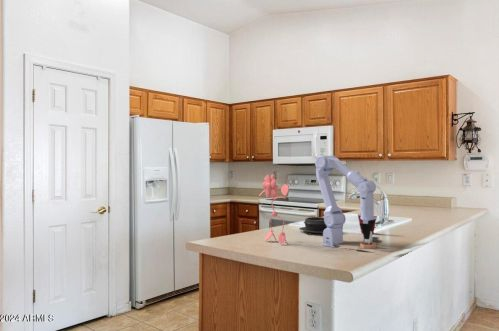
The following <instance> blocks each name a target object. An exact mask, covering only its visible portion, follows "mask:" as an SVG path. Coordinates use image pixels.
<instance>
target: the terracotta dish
mask: <svg viewBox="0 0 499 331" xmlns="http://www.w3.org/2000/svg"><path fill="white" fill-rule="evenodd" d="M359 246H360V247H361V248H366V249H365V250H374V249H373V248H376V244H375V243H372V245H364V243H362V242H360V243H359Z"/></svg>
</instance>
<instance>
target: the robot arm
mask: <svg viewBox="0 0 499 331" xmlns="http://www.w3.org/2000/svg"><path fill="white" fill-rule="evenodd" d="M314 164H315V167H316V168H315V175H316V176H315V177H316V179H317V183H318V186H319V189H320V192H321V193H320V194H321V196H322V200H323V203H324V206H325V209H324V212H323V215H324V222H325V224H326V225H327V228H326V229H324V231H323V234H322V244H321V245H322V246H325V247H331V248H338V247H340V245H339V244H343V243H344V224H345V223H346V215H345V214H344V213H343V210H342V208H340V207H339V206H338V204H337V201H336V198H335V194H334V192H333V188H332V186H331V181H330V179H329V174H330V173H331V172H333V170H334V169H335V170H337V171H338V172H340V173H341V174H343V175H344V176H345V177H346V178H347V181H348V182H349V183H351V184H352V185H353V187H355V188H357V192H358V194H359V197H360V198H359V199H360V204H359V206H360V214H361V217H360V219H362V220H363V221H362V222H363V223H359V222H358V223H359V224H358V225H359V228H360V227H361V229H362V232H363V234H362V236H363V240H364V239H369V238H370V231H372V228H373V225H374V222H375V220H373V219H376V220H377V218H378V216H377V217H374V215H375V206H374V205H375V204H374V200H375V198H374V192H375V191H376V189H377V186H376V183H375V182H374V181H373V180H372V179H371V180H368V178H367V177H364V176H363V175H362V174H360V172H361V171H357V170H351V169H350V168H349V167H348V166H346V165H345V164H344V163H343V162H342V161H341V160H340V159H339V157H336V156H335V155H331V154H330V155H318V156H317V157H316V159H315V161H314ZM375 223H376V222H375ZM361 229H360V230H361ZM337 244H338V245H337Z"/></svg>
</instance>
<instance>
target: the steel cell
mask: <svg viewBox="0 0 499 331" xmlns="http://www.w3.org/2000/svg"><path fill="white" fill-rule="evenodd" d="M372 237H373V234H372V231H370V238H369V239H364V238H363V240H364V245H372Z"/></svg>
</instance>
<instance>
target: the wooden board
mask: <svg viewBox="0 0 499 331" xmlns="http://www.w3.org/2000/svg"><path fill="white" fill-rule="evenodd" d="M381 241H382V240H380V239H379V242H378V243H375V244H376V248H373V249H372V250H377V249H378V247H379V246H380V243H381ZM361 243H364V239H362V242H361ZM372 243H373V242H372ZM357 252H358V253H373V254H375V252H374V251H369V250H367V249H366V248H361V247H360V245H358V247H357Z"/></svg>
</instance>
